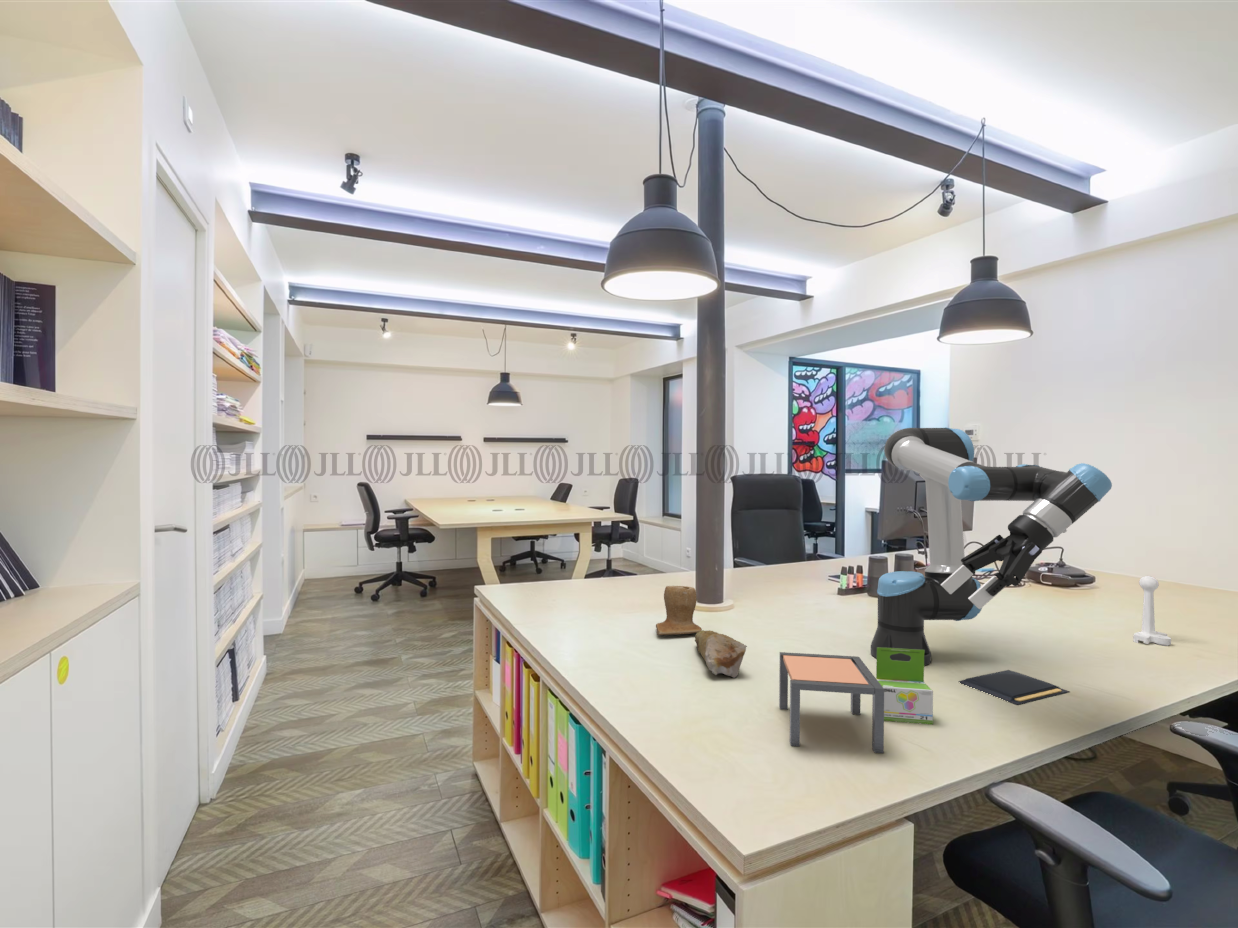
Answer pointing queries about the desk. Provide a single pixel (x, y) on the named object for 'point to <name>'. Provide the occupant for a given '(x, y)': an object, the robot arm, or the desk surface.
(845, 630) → the desk surface
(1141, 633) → the joystick
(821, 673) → the trapdoor
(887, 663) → the ink box
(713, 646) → the mineral
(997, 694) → the wallet
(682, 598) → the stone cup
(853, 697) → the stand
